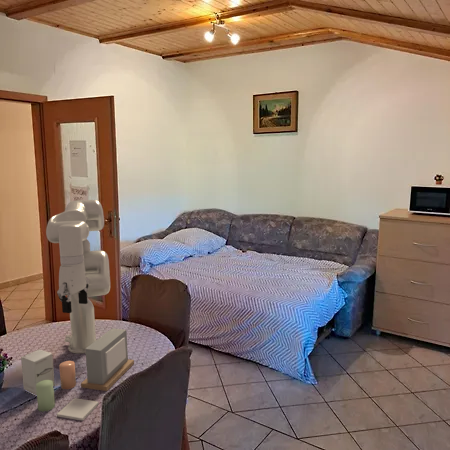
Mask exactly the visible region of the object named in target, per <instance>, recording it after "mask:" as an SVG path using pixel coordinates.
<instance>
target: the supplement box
mask: <svg viewBox="0 0 450 450" xmlns="http://www.w3.org/2000/svg"><path fill="white" fill-rule="evenodd" d="M53 356H54V355H53V353H52V352H50V351H46V350H43V349H41V348H39V349H36V350H34V351H32V352H30V353H28V354H25V355H23V356H21V358H20V363H21V371H22V372H21V373H22V384H23V390H24V389H25V390H27V391H29V392H31V393H33V394H35V395H37V392H36V384H37V383H38V382H40V381H43V380H52V381H53V386H55V387H56V383H55V372H54V371H55V370H54V369H55V368H54V359H53V358H54V357H53Z"/></svg>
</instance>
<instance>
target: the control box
mask: <svg viewBox="0 0 450 450" xmlns="http://www.w3.org/2000/svg"><path fill="white" fill-rule="evenodd" d="M127 334H128V333H127V329H123V328H122V329H121V328H115V327H114V328H113V327H112V328H111V329H109V330H108V331H107V332H105V333H104V334H102V335H101V336H100V337H98V338H96V339H97V340H96V341H95V342H94V343H92V344H91V345H90V346H88V347H87V348H86V349H85V352H86V353H85V363H86V364H85V365H86V366H85V367H86V378H85V379H84V380H83V381H81V383H80V388H82V389H83V388H84V389H89V390H96V391H97V390H98V391H103V392H108V391H109V390H110V389H111V388H112V387H113V386H114V384H116V383H117V381H119V380H120V379H121V378H122V376H124V375H125V374H126V373H127V371H128V370H129V369H131V367H133V365H134V364H135V359H129V355H128V354H129V353H128V335H127Z"/></svg>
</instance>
